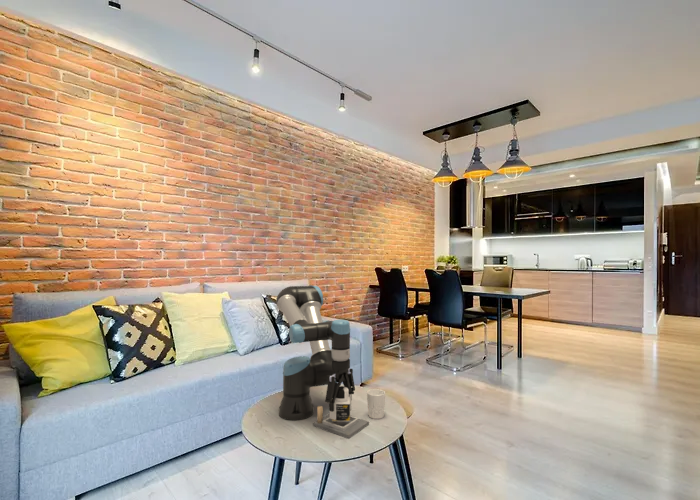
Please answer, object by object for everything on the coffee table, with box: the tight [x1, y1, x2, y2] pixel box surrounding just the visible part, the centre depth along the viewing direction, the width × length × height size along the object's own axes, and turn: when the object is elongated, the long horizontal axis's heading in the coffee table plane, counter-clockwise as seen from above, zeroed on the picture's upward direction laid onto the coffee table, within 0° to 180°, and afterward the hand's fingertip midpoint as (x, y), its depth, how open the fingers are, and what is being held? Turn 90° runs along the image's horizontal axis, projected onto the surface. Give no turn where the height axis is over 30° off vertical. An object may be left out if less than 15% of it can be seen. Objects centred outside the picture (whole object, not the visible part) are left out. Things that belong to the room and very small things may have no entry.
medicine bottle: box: [332, 385, 351, 421], centre depth 143 cm, size 7×7×12 cm
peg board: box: [312, 399, 370, 440], centre depth 142 cm, size 18×14×7 cm
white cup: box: [366, 388, 386, 420], centre depth 151 cm, size 8×8×10 cm
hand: (340, 414), depth 143 cm, fingers closed on medicine bottle, 10 cm apart
